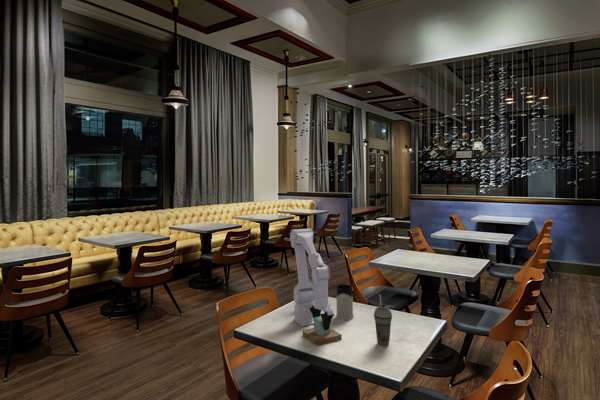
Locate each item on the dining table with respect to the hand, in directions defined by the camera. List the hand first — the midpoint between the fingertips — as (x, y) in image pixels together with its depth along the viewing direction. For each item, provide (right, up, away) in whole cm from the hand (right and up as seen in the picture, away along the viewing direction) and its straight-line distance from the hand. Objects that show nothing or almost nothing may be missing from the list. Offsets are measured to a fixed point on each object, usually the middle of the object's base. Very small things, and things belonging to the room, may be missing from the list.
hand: (321, 326), depth 154 cm
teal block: (0, -2, 0) cm, 2 cm away
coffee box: (0, -3, +42) cm, 42 cm away
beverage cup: (+24, -5, -7) cm, 26 cm away
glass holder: (+13, -4, +26) cm, 30 cm away
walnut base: (0, -4, 0) cm, 4 cm away
